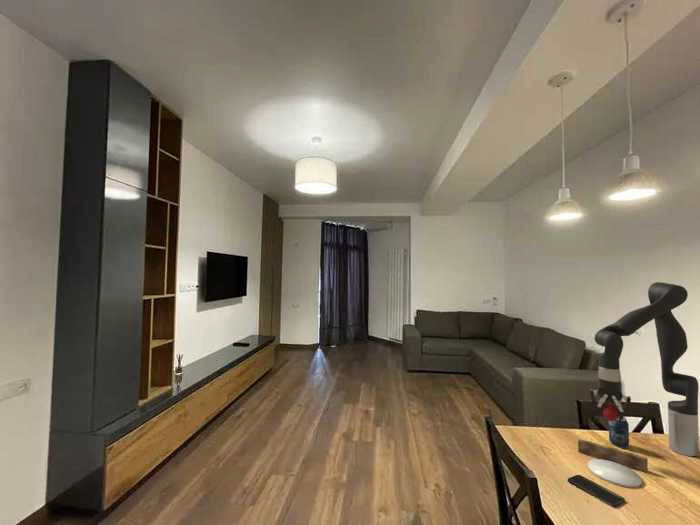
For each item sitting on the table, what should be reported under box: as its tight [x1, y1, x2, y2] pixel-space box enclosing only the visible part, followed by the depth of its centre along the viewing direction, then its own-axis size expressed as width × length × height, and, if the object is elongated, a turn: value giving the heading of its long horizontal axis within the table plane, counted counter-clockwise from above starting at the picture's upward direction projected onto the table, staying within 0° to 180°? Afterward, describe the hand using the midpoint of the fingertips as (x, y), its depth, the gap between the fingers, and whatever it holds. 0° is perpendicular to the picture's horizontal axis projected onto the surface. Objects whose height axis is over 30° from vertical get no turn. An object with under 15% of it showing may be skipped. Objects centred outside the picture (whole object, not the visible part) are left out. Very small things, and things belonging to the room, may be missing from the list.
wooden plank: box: [577, 438, 649, 473], centre depth 131 cm, size 22×2×5 cm, turn 50°
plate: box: [587, 458, 643, 488], centre depth 123 cm, size 16×16×1 cm
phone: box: [567, 474, 626, 508], centre depth 112 cm, size 8×1×15 cm
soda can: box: [608, 416, 630, 449], centre depth 145 cm, size 7×7×12 cm
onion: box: [602, 402, 619, 422], centre depth 137 cm, size 6×6×8 cm
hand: (610, 417), depth 137 cm, fingers closed on onion, 6 cm apart
